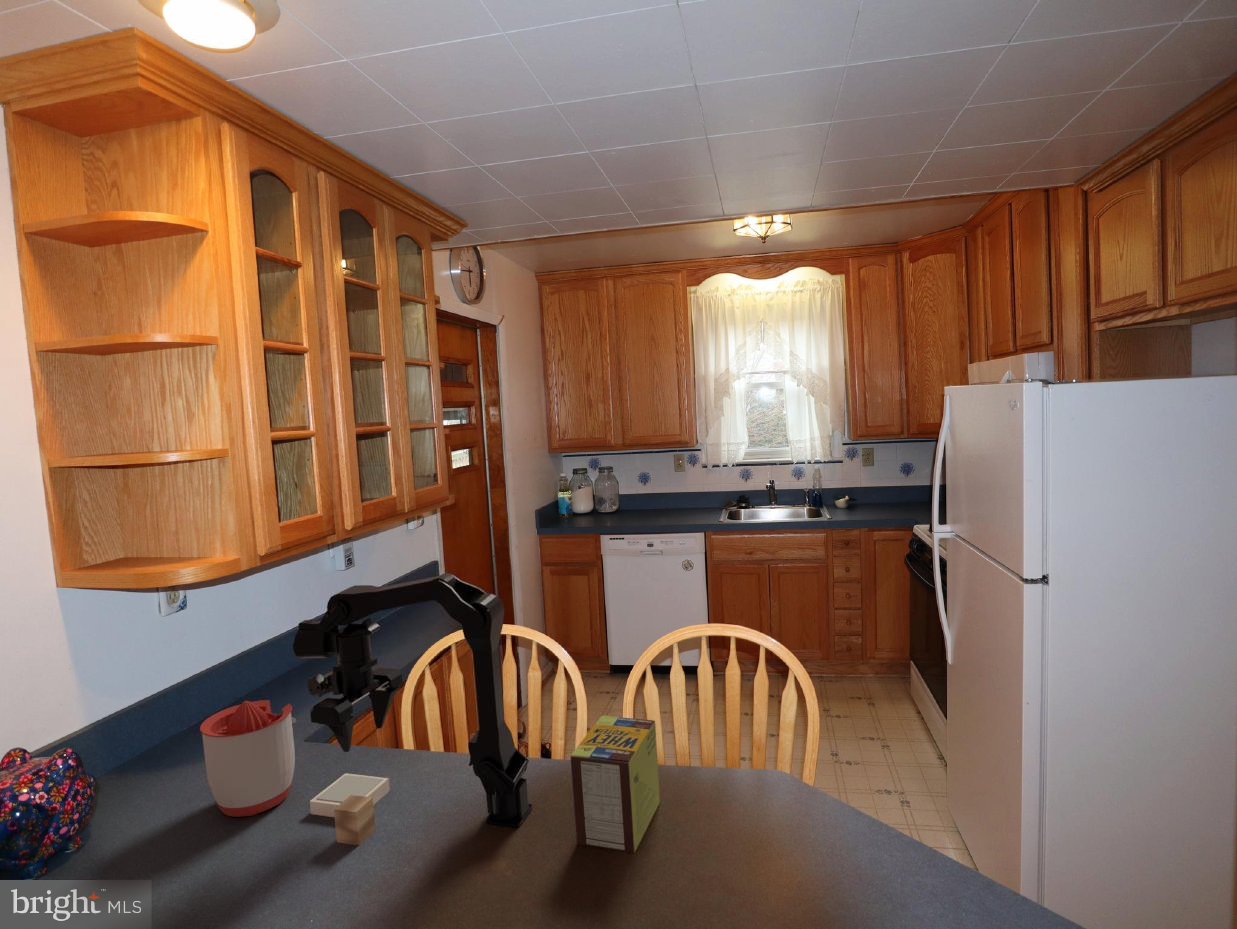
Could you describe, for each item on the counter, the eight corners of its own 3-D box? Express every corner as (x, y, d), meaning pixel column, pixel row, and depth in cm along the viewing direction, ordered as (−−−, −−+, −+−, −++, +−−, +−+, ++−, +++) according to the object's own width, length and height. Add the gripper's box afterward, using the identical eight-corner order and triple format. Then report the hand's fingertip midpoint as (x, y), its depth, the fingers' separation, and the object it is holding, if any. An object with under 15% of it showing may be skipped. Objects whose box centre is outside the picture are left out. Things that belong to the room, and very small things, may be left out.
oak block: (375, 829, 125) (372, 797, 124) (359, 845, 120) (356, 812, 120) (354, 826, 126) (350, 794, 126) (337, 842, 122) (333, 809, 121)
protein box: (660, 802, 128) (656, 719, 127) (635, 854, 114) (629, 762, 112) (606, 794, 132) (601, 714, 130) (574, 845, 117) (568, 754, 116)
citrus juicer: (325, 783, 142) (315, 686, 140) (247, 832, 126) (235, 724, 125) (270, 770, 148) (260, 677, 147) (190, 815, 133) (178, 712, 131)
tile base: (389, 790, 137) (388, 777, 137) (356, 820, 128) (355, 806, 128) (346, 785, 140) (345, 772, 140) (310, 814, 131) (309, 800, 131)
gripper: (352, 638, 140) (360, 714, 142) (280, 674, 123) (290, 760, 124) (400, 640, 137) (407, 718, 138) (333, 677, 119) (342, 766, 120)
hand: (363, 739), depth 130 cm, fingers open, 9 cm apart
